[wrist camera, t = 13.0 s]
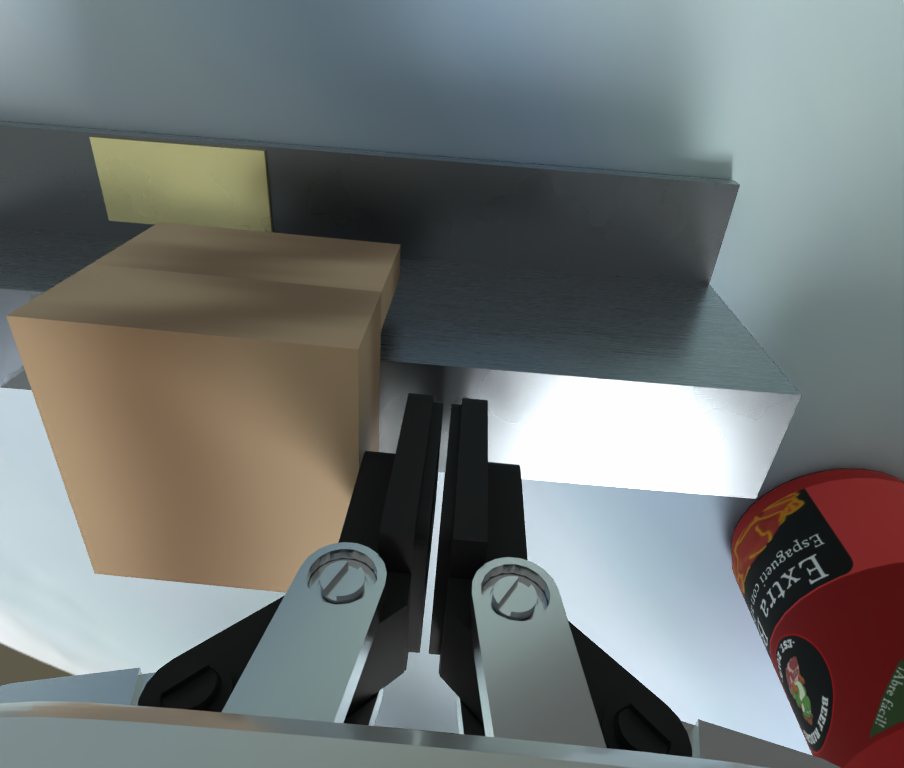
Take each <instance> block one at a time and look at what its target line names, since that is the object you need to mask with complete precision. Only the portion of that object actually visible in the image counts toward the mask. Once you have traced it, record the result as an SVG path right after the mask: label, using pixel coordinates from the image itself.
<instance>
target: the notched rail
mask: <svg viewBox="0 0 904 768" xmlns="http://www.w3.org/2000/svg"><path fill="white" fill-rule="evenodd" d="M739 186H740V184H738V183H736V182H735V181H733V180H728V179H716V178H703V177H691V176H678V175H666V174H653V173H641V172H628V171H616V170H604V169H591V168H579V167H566V166H554V165H541V164H529V163H516V162H504V161H492V160H479V159H467V158H454V157H442V156H429V155H417V154H404V153H392V152H379V151H367V150H355V149H342V148H330V147H317V146H305V145H292V144H280V143H267V142H255V141H243V140H230V139H218V138H205V137H193V136H180V135H168V134H155V133H143V132H130V131H118V130H106V129H93V128H81V127H68V126H56V125H43V124H31V123H18V122H6V121H0V387H3V388H15V389H27V390H32V389H31V386H30V383H29V380H28V378H27V375H26V372H25V369H24V366H23V363H22V360H21V357H20V354H19V351H18V348H17V346H16V343H15V340H14V337H13V334H12V331H11V328H10V325H9V322H8V319H7V317H6V315H8V314H10V313H11V312H13V311H15V310H16V309H18V308H19V307H21V306H23V305H24V304H26V303H28V302H29V301H31V300H33V299H34V298H36V297H38V296H39V295H41V294H42V293H44V292H46V291H47V290H49V289H51V288H52V287H54V286H56V285H57V284H59V283H60V282H62V281H64V280H65V279H67V278H69V277H70V276H72V275H74V274H75V273H77V272H78V271H80V270H82V269H83V268H85V267H87V266H88V265H90V264H92V263H93V262H95V261H96V260H98V259H100V258H101V257H103V256H105V255H106V254H108V253H110V252H111V251H113V250H114V249H116V248H118V247H119V246H121V245H123V244H124V243H126V242H128V241H129V240H131V239H132V238H134V237H136V236H137V235H139V234H141V233H142V232H144V231H146V230H147V229H149V228H150V227H152V226H154V225H155V224H157V223H159V222H167V223H177V224H188V225H198V226H209V227H220V228H230V229H241V230H251V231H262V232H273V233H283V234H294V235H304V236H315V237H326V238H336V239H347V240H357V241H368V242H378V243H389V244H400V245H401V246H400V275H399V281H398V284H397V287H396V290H395V293H394V295H393V298H392V301H391V304H390V307H389V310H388V312H387V315H386V318H385V321H384V324H383V326H382V329H381V350H380V408H379V452H384V453H395V454H396V449H397V444H398V440H399V435H400V430H401V425H402V421H403V416H404V411H405V406H406V402H407V397H408V393H415V394H426V395H434V402H439V403H444V405H443V418H442V430H441V442H440V455H439V467H438V472H445V469H446V458H447V447H448V436H449V426H450V415H451V404H462V398H470V399H481V400H488V462H494V463H505V464H516V465H520V469H521V479H528V480H540V481H552V482H563V483H575V484H587V485H599V486H610V487H622V488H634V489H646V490H657V491H669V492H681V493H693V494H704V495H716V496H728V497H740V498H752V499H756V498H757V495H758V493H759V491H760V489H761V486H762V484H763V482H764V480H765V477H766V475H767V473H768V471H769V468H770V466H771V464H772V462H773V459H774V457H775V455H776V453H777V450H778V448H779V446H780V444H781V441H782V439H783V437H784V434H785V432H786V430H787V428H788V425H789V423H790V421H791V419H792V416H793V414H794V412H795V410H796V407H797V405H798V403H799V401H800V398H801V396H802V395H801V394H800V393H799V392H798V390H797V389H796V388H795V387H794V386H793V384H792V383H791V382H790V381H789V380H788V378H787V377H786V376H785V375H784V374H783V372H782V371H781V370H780V369H779V368H778V366H777V365H776V364H775V363H774V362H773V360H772V359H771V358H770V357H769V356H768V354H767V353H766V352H765V351H764V350H763V348H762V347H761V346H760V345H759V344H758V342H757V341H756V340H755V339H754V338H753V336H752V335H751V334H750V333H749V332H748V330H747V329H746V328H745V327H744V326H743V324H742V323H741V322H740V321H739V320H738V318H737V317H736V316H735V315H734V314H733V312H732V311H731V310H730V309H729V308H728V306H727V305H726V304H725V303H724V302H723V300H722V299H721V298H720V297H719V296H718V294H717V293H716V292H715V291H714V290H713V288H712V287H711V286H710V285H709V282H710V279H711V276H712V273H713V270H714V266H715V263H716V260H717V257H718V254H719V250H720V247H721V244H722V241H723V237H724V234H725V231H726V228H727V225H728V221H729V218H730V215H731V212H732V208H733V205H734V202H735V199H736V196H737V192H738V189H739Z"/></svg>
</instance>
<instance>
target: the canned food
mask: <svg viewBox="0 0 904 768" xmlns="http://www.w3.org/2000/svg"><path fill="white" fill-rule="evenodd" d="M731 545H732V569H733V572H734V575H735V578H736V581H737V583H738V585H739V588H740V590H741V592H742V595H743V597H744V599H745V601H746V604H747V606H748V608H749V611H750V613H751V615H752V618H753V620H754V622H755V624H756V627H757V629H758V631H759V634H760V636H761V638H762V640H763V643H764V645H765V647H766V650H767V652H768V654H769V656H770V659H771V661H772V663H773V666H774V668H775V670H776V673H777V675H778V677H779V679H780V682H781V684H782V686H783V689H784V691H785V693H786V695H787V698H788V700H789V702H790V705H791V707H792V709H793V712H794V714H795V716H796V718H797V721H798V723H799V725H800V728H801V730H802V732H803V734H804V737H805V739H806V741H807V744H808V746H809V748H810V750H811V753H812V755H813V756H815V757H818V758H822V759H824V760H826V761H828V762H830V763H832V764H834V765H837V766H839V767H841V768H904V481H902V480H900V479H898V478H896V477H893V476H890V475H888V474H885V473H882V472H877V471H871V470H865V469H837V470H829V471H822V472H818V473H814V474H810V475H806V476H802V477H800V478H797V479H795V480H792V481H790V482H787V483H785V484H782V485H781V486H779V487H777V488H775V489H774V490H772V491H770V492H768V493H767V494H765V495H764V496H763V497H762V498H760V499H759V500H758V501H756V502H755V503H754V504H753V505H752V506H751V507H750V508H749V509H748V510H747V511H746V513H745V514H744V515H743V516H742V517H741V519H740V521H739V523H738V524H737V526H736V528H735V530H734V534H733V538H732V541H731Z"/></svg>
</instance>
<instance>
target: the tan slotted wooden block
mask: <svg viewBox="0 0 904 768" xmlns="http://www.w3.org/2000/svg"><path fill="white" fill-rule="evenodd" d="M400 246H401V245H400V244H389V243H378V242H368V241H357V240H347V239H336V238H326V237H315V236H304V235H294V234H283V233H273V232H262V231H251V230H241V229H230V228H220V227H209V226H198V225H188V224H177V223H167V222H159V223H157V224H155V225H154V226H152V227H150V228H149V229H147V230H146V231H144V232H142V233H141V234H139V235H137V236H136V237H134V238H132V239H131V240H129V241H128V242H126V243H124V244H123V245H121V246H119V247H118V248H116V249H114V250H113V251H111V252H110V253H108V254H106V255H105V256H103V257H101V258H100V259H98V260H96V261H95V262H93V263H92V264H90V265H88V266H87V267H85V268H83V269H82V270H80V271H78V272H77V273H75V274H74V275H72V276H70V277H69V278H67V279H65V280H64V281H62V282H60V283H59V284H57V285H56V286H54V287H52V288H51V289H49V290H47V291H46V292H44V293H42V294H41V295H39V296H38V297H36V298H34V299H33V300H31V301H29V302H28V303H26V304H24V305H23V306H21V307H19V308H18V309H16V310H15V311H13V312H11V313H10V314H8V315H6V317H7V319H8V322H9V325H10V328H11V331H12V334H13V337H14V340H15V343H16V346H17V348H18V351H19V354H20V357H21V360H22V363H23V366H24V369H25V372H26V375H27V378H28V380H29V383H30V386H31V389H32V392H33V395H34V398H35V401H36V404H37V407H38V410H39V412H40V415H41V418H42V421H43V424H44V427H45V430H46V433H47V436H48V439H49V442H50V444H51V447H52V450H53V453H54V456H55V459H56V462H57V465H58V468H59V471H60V473H61V476H62V479H63V482H64V485H65V488H66V491H67V494H68V497H69V500H70V503H71V505H72V508H73V511H74V514H75V517H76V520H77V523H78V526H79V529H80V532H81V535H82V537H83V540H84V543H85V546H86V549H87V552H88V555H89V558H90V561H91V564H92V567H93V569H94V572H95V574H105V575H115V576H125V577H135V578H145V579H155V580H165V581H175V582H186V583H196V584H206V585H216V586H226V587H236V588H246V589H256V590H266V591H277V592H287V590H288V589H289V587H290V585H291V583H292V581H293V579H294V578H295V576H296V574H297V572H298V570H299V568H300V567H301V565H302V564H303V563H304V561H305V560H306V559H307V557H308V556H310V555H311V554H312V553H314V552H315V551H316V550H318V549H320V548H322V547H325V546H327V545H330V544H335V543H338V542H339V539H340V535H341V532H342V528H343V525H344V521H345V518H346V514H347V511H348V507H349V504H350V500H351V497H352V493H353V490H354V486H355V483H356V479H357V476H358V472H359V469H360V465H361V462H362V458H363V455H364V453H365V451H373V452H379V408H380V350H381V329H382V326H383V324H384V321H385V318H386V315H387V312H388V310H389V307H390V304H391V301H392V298H393V295H394V293H395V290H396V287H397V284H398V281H399V275H400Z"/></svg>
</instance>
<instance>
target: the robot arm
mask: <svg viewBox="0 0 904 768" xmlns="http://www.w3.org/2000/svg"><path fill="white" fill-rule="evenodd" d="M443 405H444V403H439V402H434V395H426V394H415V393H408V397H407V402H406V406H405V411H404V416H403V421H402V425H401V430H400V435H399V440H398V444H397V449H396V454H395V453H384V452H373V451H365V453H364V455H363V458H362V462H361V465H360V469H359V472H358V476H357V479H356V483H355V486H354V490H353V493H352V497H351V500H350V504H349V507H348V511H347V514H346V518H345V521H344V525H343V528H342V532H341V535H340V539H339V542H338V543H335V544H330V545H327V546H325V547H322V548H320V549H318V550H316V551H315V552H314V553H312V554H311V555H310V556H308V557H307V559H306V560H305V561H304V563H303V564H302V565H301V567H300V568H299V570H298V572H297V574H296V576H295V578H294V579H293V581H292V583H291V585H290V587H289V589H288V590H287V592H286V594H285V596H283V597H281V598H280V599H278V600H276V601H274V602H273V603H271V604H269V605H267V606H266V607H264V608H262V609H260V610H259V611H257V612H255V613H253V614H252V615H250V616H248V617H246V618H244V619H243V620H241V621H239V622H237V623H236V624H234V625H232V626H230V627H229V628H227V629H225V630H223V631H222V632H220V633H218V634H216V635H215V636H213V637H211V638H209V639H208V640H206V641H204V642H202V643H201V644H199V645H197V646H195V647H194V648H192V649H190V650H188V651H186V652H185V653H183V654H181V655H179V656H178V657H176V658H174V659H173V660H171V661H170V662H168V663H167V664H166V665H164V666H163V667H161V668H160V669H159V670H158V671H157V672H156V673H148V674H142V673H141V670H140V668H133V669H125V670H117V671H109V672H101V673H93V674H84V675H76V676H68V677H60V678H52V679H44V680H36V681H28V682H20V683H11V684H7V685H3V686H0V768H841V767H839V766H837V765H834V764H832V763H830V762H828V761H826V760H824V759H822V758H818V757H815V756H812V755H809V754H806V753H803V752H799V751H796V750H793V749H790V748H787V747H784V746H781V745H777V744H774V743H771V742H768V741H765V740H762V739H758V738H755V737H752V736H749V735H746V734H743V733H740V732H736V731H733V730H730V729H727V728H724V727H721V726H717V725H714V724H711V723H708V722H705V721H702V720H699V719H698V721H697V723H696V725H692V724H689V723H686V722H683V721H680V719H679V717H678V716H677V715H676V714H675V713H674V712H673V711H672V710H671V709H670V708H669V707H668V706H667V705H666V704H665V703H664V702H663V701H662V700H660V699H659V698H658V697H657V696H656V695H655V694H653V693H652V692H651V691H650V690H649V689H648V688H646V687H645V686H644V685H643V684H642V683H640V682H639V681H638V680H637V679H636V678H635V677H633V676H632V675H631V674H630V673H629V672H628V671H626V670H625V669H624V668H623V667H622V666H621V665H619V664H618V663H617V662H616V661H615V660H614V659H612V658H611V657H610V656H609V655H608V654H607V653H605V652H604V651H603V650H602V649H601V648H600V647H598V646H597V645H596V644H595V643H594V642H593V641H591V640H590V639H589V638H588V637H587V636H585V635H584V634H583V633H582V632H581V631H580V630H578V629H577V628H576V627H575V626H574V625H573V624H571V623H570V622H569V621H568V619H567V616H566V613H565V609H564V606H563V603H562V600H561V596H560V593H559V590H558V588H557V586H556V584H555V582H554V580H553V578H552V577H551V576H550V575H549V574H548V573H547V572H546V571H545V570H544V569H543V568H541V567H539V566H538V565H536V564H535V563H533V562H530V561H527V548H526V535H525V521H524V508H523V494H522V480H521V469H520V465H516V464H505V463H494V462H488V400H481V399H470V398H462V404H451V415H450V426H449V436H448V447H447V458H446V469H445V479H444V490H443V501H442V512H441V522H440V533H439V544H438V555H437V567H436V578H435V589H434V600H433V612H432V623H431V634H430V645H429V654H438V655H440V664H439V673H440V677H441V678H442V679H443V680H444V681H445V682H446V683H447V684H448V686H449V687H450V688H451V689H452V690H453V691H454V692H455V693H456V694H457V700H456V710H457V719H458V729H459V734H454V733H444V732H433V731H422V730H412V729H401V728H390V727H379V726H374V724H375V721H376V718H377V715H378V711H379V708H380V705H381V702H382V698H383V691H384V687H385V686H386V685H388V684H389V683H390V682H392V681H393V680H394V679H396V678H397V677H398V676H400V675H401V674H402V673H404V670H406V667H407V659H408V652H416V653H420V645H421V636H422V626H423V617H424V608H425V598H426V589H427V580H428V570H429V561H430V552H431V542H432V533H433V524H434V514H435V504H436V492H437V479H438V467H439V455H440V442H441V430H442V418H443Z"/></svg>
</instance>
